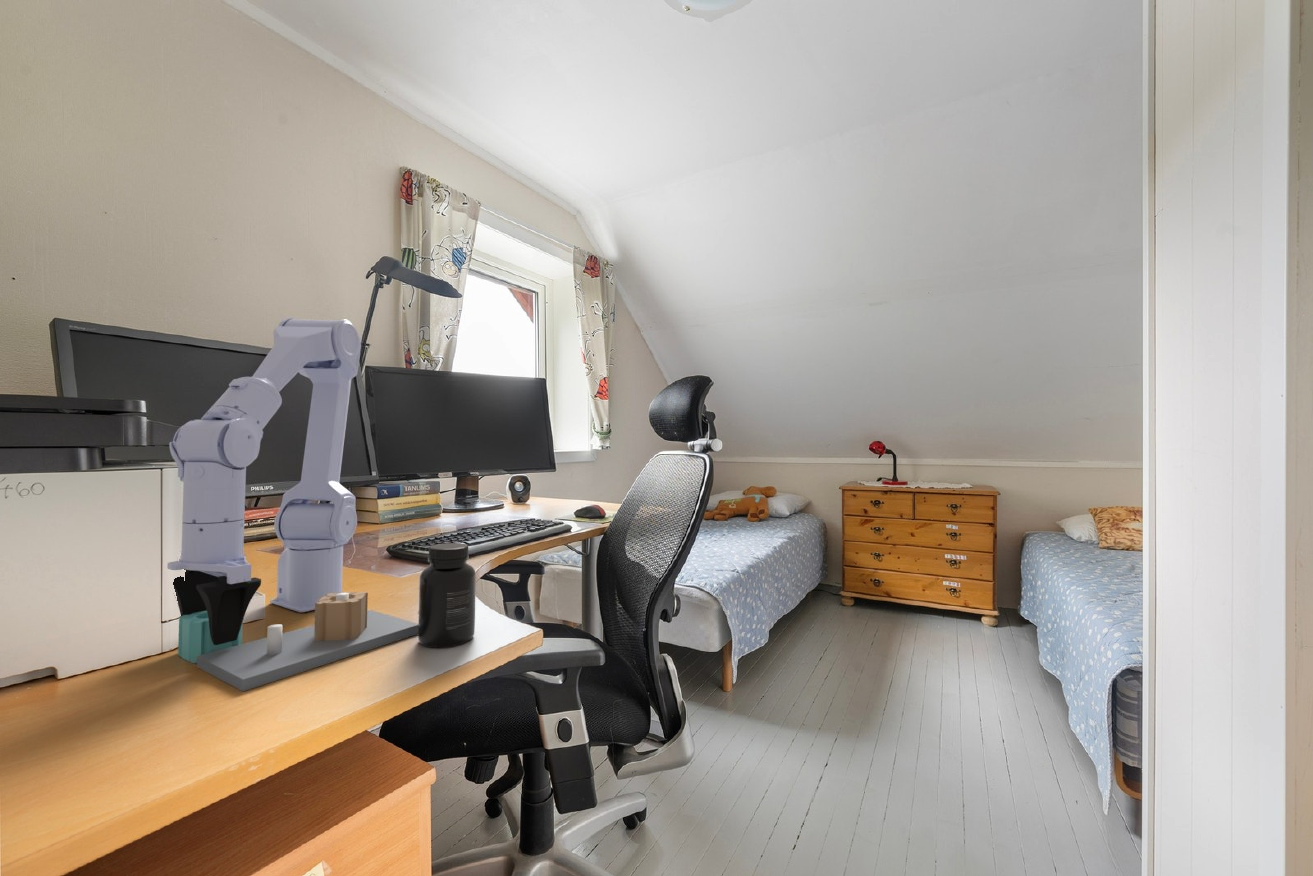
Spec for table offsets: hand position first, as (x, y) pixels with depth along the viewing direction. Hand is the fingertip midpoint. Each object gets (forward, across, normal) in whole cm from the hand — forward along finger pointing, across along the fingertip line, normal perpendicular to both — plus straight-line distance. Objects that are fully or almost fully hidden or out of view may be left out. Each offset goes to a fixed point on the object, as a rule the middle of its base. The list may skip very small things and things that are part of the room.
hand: (210, 635), depth 63 cm
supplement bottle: (+2, +19, +18) cm, 26 cm away
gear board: (+2, +9, +8) cm, 12 cm away
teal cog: (+2, 0, 0) cm, 2 cm away
